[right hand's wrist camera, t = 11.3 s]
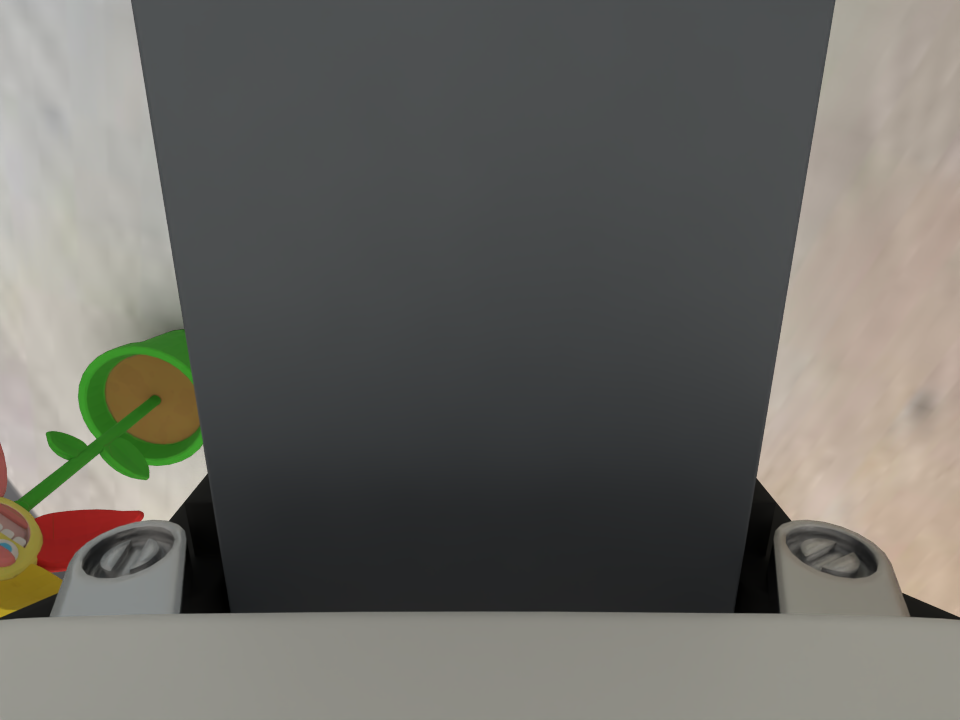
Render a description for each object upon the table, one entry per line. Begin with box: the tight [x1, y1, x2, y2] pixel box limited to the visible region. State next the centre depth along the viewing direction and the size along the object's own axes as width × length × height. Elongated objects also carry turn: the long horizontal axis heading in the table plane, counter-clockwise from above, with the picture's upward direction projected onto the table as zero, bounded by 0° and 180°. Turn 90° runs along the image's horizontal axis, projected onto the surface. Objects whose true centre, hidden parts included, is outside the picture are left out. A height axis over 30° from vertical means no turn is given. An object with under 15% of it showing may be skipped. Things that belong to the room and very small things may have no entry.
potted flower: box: [0, 329, 203, 617], centre depth 30 cm, size 9×8×25 cm
